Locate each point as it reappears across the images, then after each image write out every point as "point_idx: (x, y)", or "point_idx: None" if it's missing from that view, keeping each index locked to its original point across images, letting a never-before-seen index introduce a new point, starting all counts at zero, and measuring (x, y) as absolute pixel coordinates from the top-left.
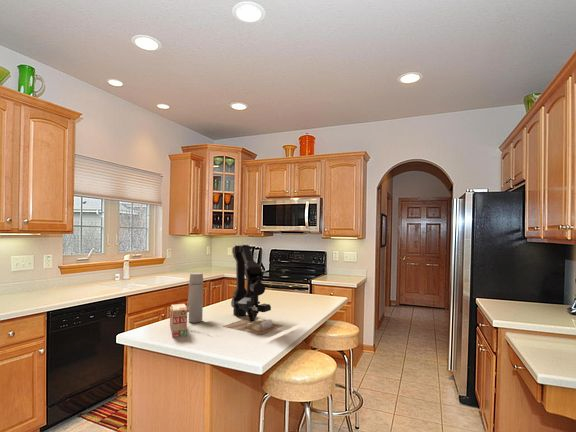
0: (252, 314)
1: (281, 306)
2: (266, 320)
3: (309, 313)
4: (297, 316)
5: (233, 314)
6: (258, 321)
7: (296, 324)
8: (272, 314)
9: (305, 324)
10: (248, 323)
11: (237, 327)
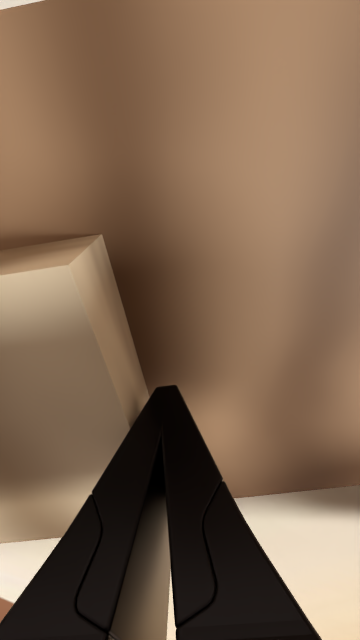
0: (39, 620)
1: (352, 630)
2: (36, 529)
3: (168, 633)
4: (171, 608)
5: None
6: (50, 463)
7: (42, 563)
8: (311, 582)
9: (12, 579)
10: (20, 271)
11: (297, 144)
